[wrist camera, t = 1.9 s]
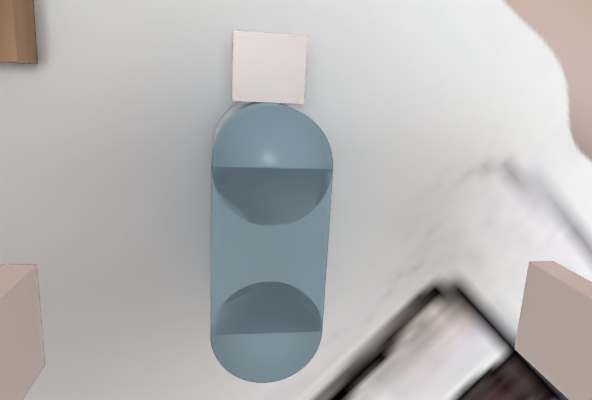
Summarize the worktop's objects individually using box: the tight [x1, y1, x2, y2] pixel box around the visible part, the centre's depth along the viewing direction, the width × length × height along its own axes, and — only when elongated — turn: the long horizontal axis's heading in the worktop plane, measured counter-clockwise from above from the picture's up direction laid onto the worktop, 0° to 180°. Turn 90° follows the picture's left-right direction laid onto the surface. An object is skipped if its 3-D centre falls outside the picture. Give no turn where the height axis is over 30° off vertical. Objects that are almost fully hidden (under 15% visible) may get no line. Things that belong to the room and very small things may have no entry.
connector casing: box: [211, 30, 333, 383], centre depth 19 cm, size 4×12×6 cm, turn 177°
